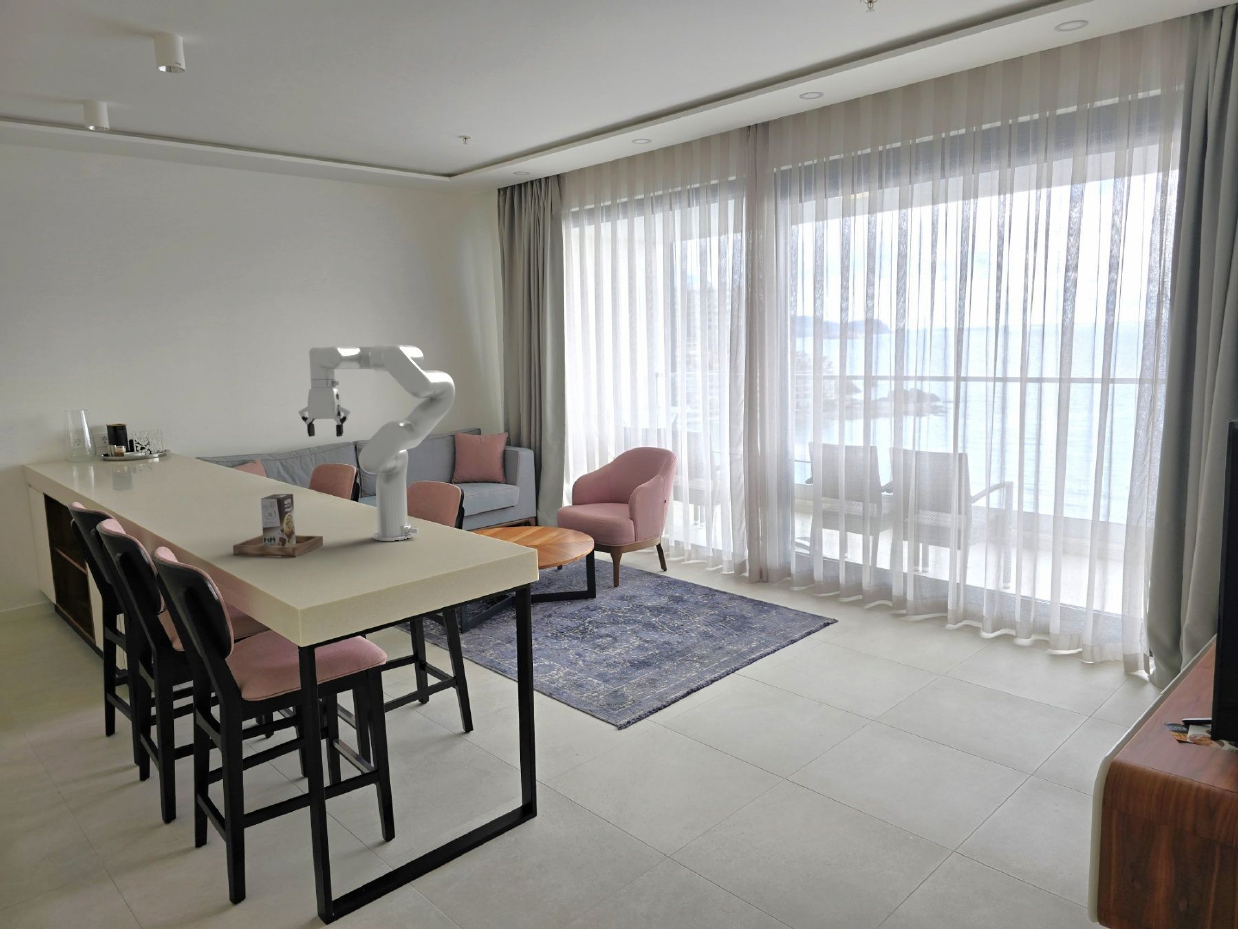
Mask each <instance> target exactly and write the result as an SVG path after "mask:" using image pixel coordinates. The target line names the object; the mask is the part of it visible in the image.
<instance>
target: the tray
mask: <svg viewBox="0 0 1238 929" xmlns="http://www.w3.org/2000/svg"><path fill="white" fill-rule="evenodd" d="M295 539H296V544H295V545H293V546H291V547H287V546H263V534H261V535H258V536H255V537H253V538H249V539H247V540H244V541H241V542H239V543H235V544H234V545H232V551H233V553H232V554H233V556H239V555H246V556H245V557H267V556H281V557H280V558H298V557H300V556H303V555H304V553H305V554H307V553H309V552H312V551H314V550H316V549H318V547H319V548H320V547H323V546H324V538H323V535H302V534H301V535H299V534H295ZM313 549H314V550H313ZM302 554H303V555H302ZM297 556H298V557H297Z"/></svg>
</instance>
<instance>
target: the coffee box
mask: <svg viewBox="0 0 1238 929" xmlns="http://www.w3.org/2000/svg"><path fill="white" fill-rule="evenodd" d="M294 502H295V501H294V494H293V493H278V494H276V493H275V494H274V493H273V494H270V495H267V496H265V497H262V498H260V503H261V504H260V505H261V527H262V535H263V546H287V547H291V546H293V545H295V544H296V539H295V535H296V523H295V520H296V519H295V510H294V509H295V507H294V506H295V505H294Z"/></svg>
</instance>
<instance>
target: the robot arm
mask: <svg viewBox="0 0 1238 929" xmlns="http://www.w3.org/2000/svg"><path fill="white" fill-rule="evenodd" d="M308 351H309V352H308V356H309V374H310V375H309V376H310V388H309V389H308V397H307V406H306V407H304V408H302V409H300V410H299V411H298V414H299V416H300V417H301V420H302V421H303V422H304V423H305V425H306V427H307V428H306V429H307V435H308V437H309V438H310V437H315V436H316V432H315V431H316V430H315V427H316V426H315V424H314V421H315V420H334V422H335V423H336V425H335V433H336V437H337V438H340V437H342V436H343V434H344V424H345V422H346V421H347V420H348V418H349V416H350V414H351V411H350V410H349V409H347V408H345V407H343V406H342V401H341V396H340V391H339V389H338V388H336V387H337V386H339V384H340V382H339V381H337V380H336V377H335V370H373V371H375V372H385V373H386V372H388V373H389V374H390V375H391V376H392V378H393V379H394V380H395V381H396V382H397V383H398V384H399V385H400V386H401V387H402V388H403V390H405V392H407V394H409V395H410V396H412V397H414V398H416V399H424V400H422V401H421V402H420V403H418V404H417V405H416V406H415V407H414V408H413V409H412V411H411V412H410V413H409V414H408V415H406V417H404V418H402V419H398V420H392V421H389V422H386V423H385V424H384V425H382V426H381V427H380V428H379V429H378V430H377V431H376V432H375V433H374V435H373V436H372V437H371V438H370V439H368V442H367V443H366V444H365V445H364V446H363V448H362V449H361V451H360V452H359V454H358V455H359V456H358V463H359V466H360V468H361V470H363V471H364V472H365V473H367V474H369V475H377V476H376V480H375V481H376V483H375V495H376V499H375V500H376V516H377V517H376V519H377V520H376V522H377V523H376V524H377V532H376V533H374V534H373V535H372V539H373V540H376V541H378V540H379V541H380V542H396V541H395V540H399V541H404V539H405V540H408V539H407V538H409V539H411V538H413V536H414V534H419V532H420V527H419V526H412V525H411V522H409V521H408V498H407V497H408V496H407V494H408V493H407V472H408V471H407V470H408V465H409V464H408V463H409V454H408V450H412V449H414V448H415V449H416V447H418V446H419V445H420V444H422V442H423V440H425V439H426V437H427V436H429V434H430V433H431V432H432V430H433V429H434V428H435V427H436V426H437V425H438V424H439V422H440V421H441V420H442V419H443V418H444V417H445V416H446V415H447V414H448V413H449V411H450V410H451V408H452V406H453V404H454V401H455V397H456V385H455V382H454V380H453V378H452V377H451V375H450V374H449V373H446V372H445V371H441V370H438V369H437V370H435V369H431V370H430V369H428V370H422V369H421V368H422V366H423V364H424V361H425V356H424V354H423V352H422V350H421V349H420V348H419V347H418V346H415V345H412V344H411V345H410V344H375V345H373V346H355V345H354V346H350V345H349V346H347V345H332V346H314V347H313V346H312V347H311V348H309V350H308ZM306 413H307V415H306Z"/></svg>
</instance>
